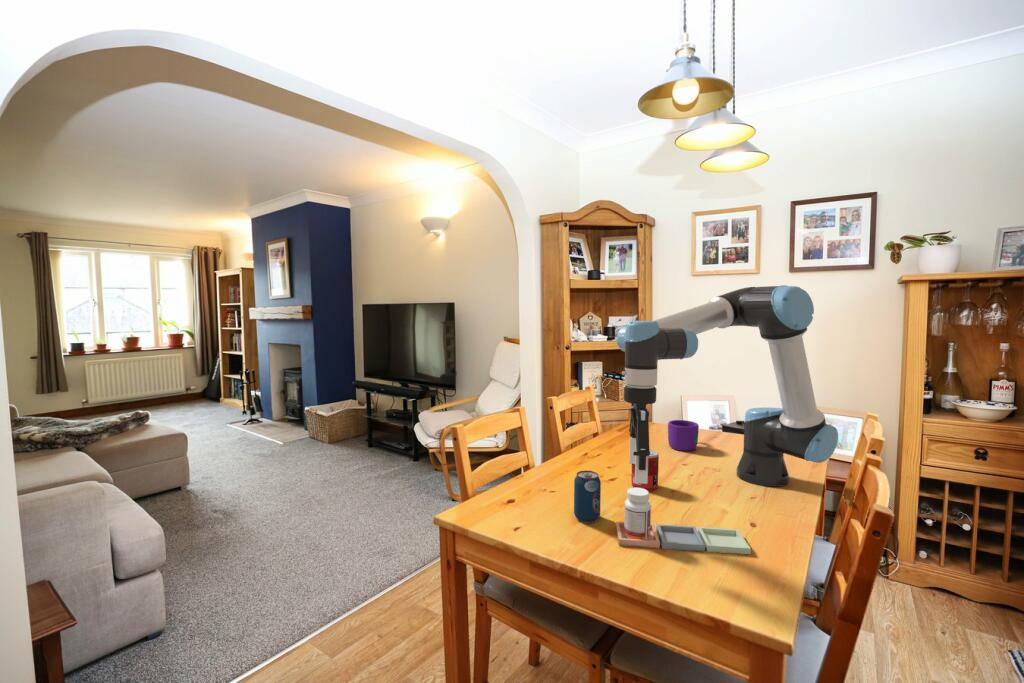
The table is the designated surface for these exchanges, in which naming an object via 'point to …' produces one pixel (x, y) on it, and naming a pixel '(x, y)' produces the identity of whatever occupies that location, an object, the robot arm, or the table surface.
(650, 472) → the canned food
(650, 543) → the dish terracotta
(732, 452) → the table surface
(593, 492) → the soda can
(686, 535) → the dish slate
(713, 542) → the dish sage
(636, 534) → the pill bottle
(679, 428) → the mug
